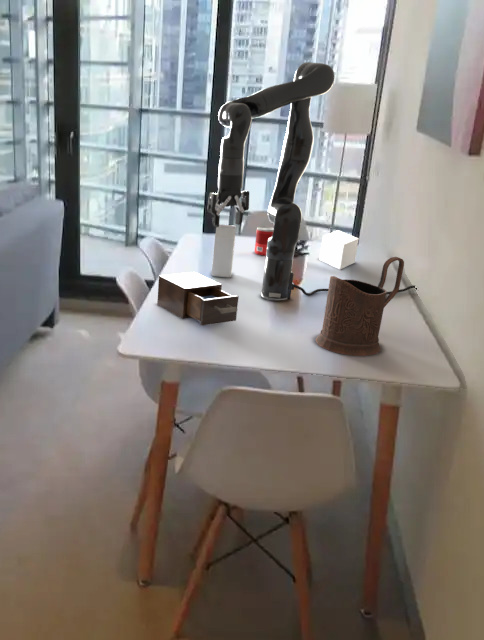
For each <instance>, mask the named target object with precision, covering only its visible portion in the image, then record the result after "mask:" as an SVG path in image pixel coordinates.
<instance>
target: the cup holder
mask: <svg viewBox="0 0 484 640" xmlns="http://www.w3.org/2000/svg"><path fill="white" fill-rule="evenodd" d="M396 261H398V266H397V272H396V273H397V274H396V278H395V281H394V282H395V284H394V286H393V290H391V291H392V292H391V293H390V294H387V292H388V291H387V290H386V289H385V288H384V286H385V283H386V280H387V274H388V268H389V266H390V265H391V264H392V263H394V262H396ZM404 267H405V261H404V259H403V258H401V257H399V256H392V257H390V258H387V259H386V261H384V263H383V265H382V269H381V274H380V279H379V283H378V285H376V284H372V283H368V282H366V281H362V280H358V279H357V280H356V279H350V278H349V279H348V278H347V279H345V278H344V279H342V278H340V277H337V276H335V275H330V277H329V284H328V288H327V289H328V291H327V296H326V303H325V308H324V309H325V310H324V314H323V321H322V328H321V330H320V332H319V334H318V335H317V336H316V338H315V342H316V344H317V345H318V346H319V347H320V348H322V349H324V350H327V351H329V352H333V353H336V354H341V355H347V356H355V357H356V356H359V357H365V356H372V355H376V354H378V353H380V352H381V351H382V348H381V344H380V342H379V341H380V339H379V336H380V330H381V324H382V320H383V315H384V309H385V308H386V306H387V305H388V304H389V303H390V302H391V301H392V299H393V298H394V297H395V296H396V295H397V294H398V291H399V290H400V287H401V282H402V278H403V272H404Z"/></svg>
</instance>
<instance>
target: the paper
mask: <svg viewBox="0 0 484 640" xmlns="http://www.w3.org/2000/svg"><path fill="white" fill-rule="evenodd" d="M359 240H360V239H359V237H357V236H354V235H351V234H348V233H346V232H344V231H342V230H339V229H337V230H335V231H332V232H328V233H326V234H324V235H322V240H321V246H320V252H319V261H322V262H323V263H326V264H327V265H329V266H331V267H333V268H336V269H338V270H342V269H344V268H346V267H348V266H351V265H353V264H355V262H356V256H357V252H358V246H359Z"/></svg>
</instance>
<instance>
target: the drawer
mask: <svg viewBox="0 0 484 640" xmlns="http://www.w3.org/2000/svg"><path fill="white" fill-rule="evenodd" d="M211 295H213V296H215V297H217V298H210V299H204V298H202V297H203V296H211ZM239 298H240V297H239V295H237V294H234V295H232V294H230V293H228V292H226V291H225V290H222V289H221V290H220V289H218V288H210V289H201V290H193V291H187V300H186V313H185V314H187V315H189V316H191V317H192V318H191V319H194V320H196V321H198V322H199V325H200V326H202V327H203V326H208V325H209V326H210V325H215V324H223V323H228V322H236V321H237V317H238V316H237V313H238V310H239V309H238V306H239V305H238V304H239Z"/></svg>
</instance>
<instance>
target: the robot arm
mask: <svg viewBox="0 0 484 640" xmlns="http://www.w3.org/2000/svg"><path fill="white" fill-rule="evenodd" d="M293 77H294V78H293V80H291V81H287V82H284V83H280V84H275V85H271V86H269V87H266V88H263V89H261V90H259V91H256V92H254V93H252V94H250V95H248V96H243V97H240V98H236V99H232V100H230V101H227V102H225V104H223V105H222V106H221V107H220V109H219V111H218V115H217V116H218V121H219V123H220V124H221V125H222V126H224V127H226V128H229V129H230V131H229V133H228V135H227V136H224V137H222V139H221V143H220V158H219V163H218V174H217V175H218V177H217V188H218V190H217V193H216V192H215V193H214V192H209V194H208V198H207V199H208V201H207V208H206V209H207V210H206V212H207V213H210V214H211V215H212V218H211V219H212V220H211V221H212V222H211V224H212V226H213V227H215V228H216V227H219V224H220V221H221V220H220V219H221V215H220V214H221V213H222V211H223V210H224V209H225V208H228V207H233V208H234V209H235V210H236V212H235V219H234V221H235V222H234V223H235V225H242V223H243V219H244V212H245V211H248V210H249V209H250V191H249V190H245V189H243V183H244V181H243V180H244V172H245V171H244V170H245V159H244V157H245V145H246V142H247V138H248V135H249V132H250V129H251V125H252V121H253V119H258V118H261V117H265V116H266V115H268V114H271V113H272V112H275V111H277V110H278V109H281V108H284V107H286V106H288V105H290V109H289V110H290V111H289V115H288V121H287V127H286V131H285V132H286V133H285V136H284V140H283V145H282V150H281V156H280V160H279V161H280V162H279V165H278V166H279V167H278V171H277V176H276V182H275V185H274V189H273V192H272V196H271V199H270V201H269V205H268V209H267V217H268V221H269V222H270V224H271V225H273V228H274V230H273V235H272V238H270V239H269V240H268V243H267V251H266V256H265V261H264V268H263V269H264V270H263V277H262V286H261V293H260V297H261V298H262V299H264V300H267V301H272V302H285V301H290V300H291V298H292V291H294V290H295V289H297V290H299V291H301V292H302V294H303V295H305V296H308V297H309V296H310V297H311V296H313V295H314V294H317V293H319V292H328V289H329V288H317V289H314V290H313V291H311V292H306V290H305V289H304V288H303V287H301V286H300V285H297V284H295V282H293V281H294V271H293V263H294V255H295V251H296V250H295V249H296V245H297V243H298V241H299V239H300V238H299V237H300V232H301V226H302V219H303V213H302V209H301V207H300V206H299V205H298V204H297V203H295V202H294V201H295V195H296V191H297V187H298V184H299V181H300V180H301V177H302V176H303V174H304V173H305V171H306V169H307V167H308V165H309V163H310V160H311V156H312V151H313V147H314V141H315V139H314V137H315V136H314V130H313V126H312V122H311V121H312V120H311V118H310V117H311V115H310V109H311V108H310V107H311V101H312V98H313V97H317V96H321V95H325V94H326V93H328V92H329V91H330V90H331V89H332V87H333V85H334V82H335V72H334V69H333V67H331V65H329V64H326V63H323V62H311V61H310V62H309V61H307V62H306V61H305V62H303V63H301V64H300V65H299V66H298V67H297V69H296V71H295V73H294V76H293ZM240 199H241V200H240ZM415 286H416V285H414V284H413V285H409V286H407V287H404V288H402V289H400V288H399V291H398V293H399V294H400V293H404V292H406V291H409V290H411V289H415V290H416V291H418V290H417V288H415ZM392 291H393V290H391V291H387V294H386V295H389V294H390V293H391V292H392ZM398 293H397V294H398Z"/></svg>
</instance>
